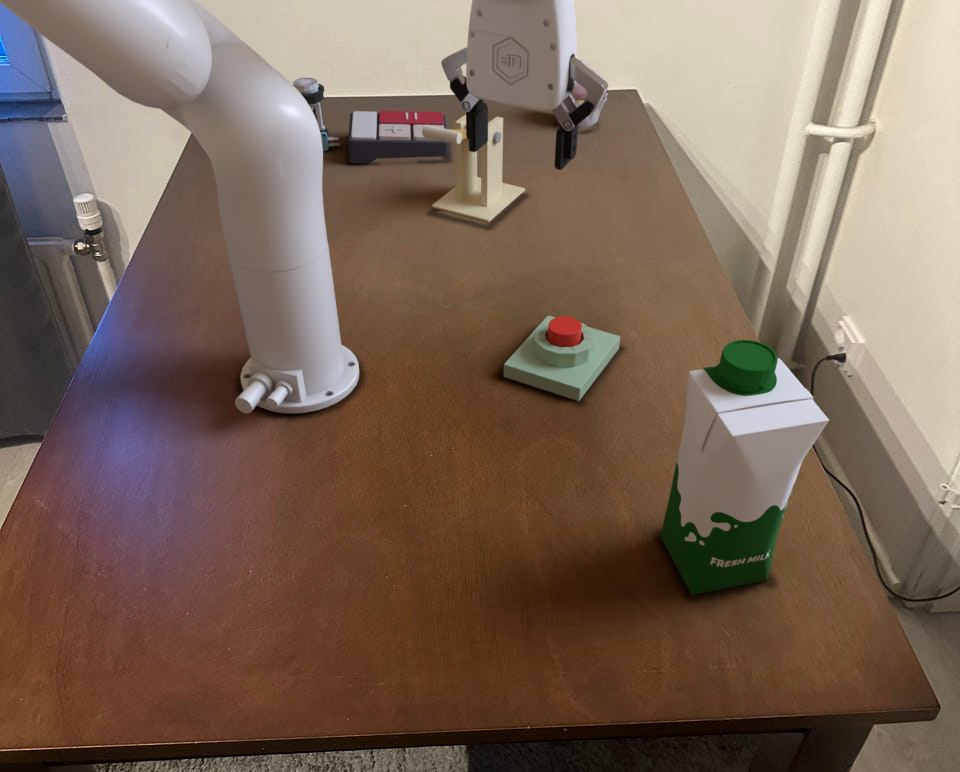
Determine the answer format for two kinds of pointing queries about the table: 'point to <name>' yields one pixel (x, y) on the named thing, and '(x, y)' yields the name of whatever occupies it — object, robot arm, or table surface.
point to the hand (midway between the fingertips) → (520, 155)
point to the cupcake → (580, 96)
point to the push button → (314, 97)
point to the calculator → (393, 135)
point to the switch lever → (444, 134)
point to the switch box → (562, 361)
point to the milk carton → (737, 466)
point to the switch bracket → (474, 192)
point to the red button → (564, 331)
